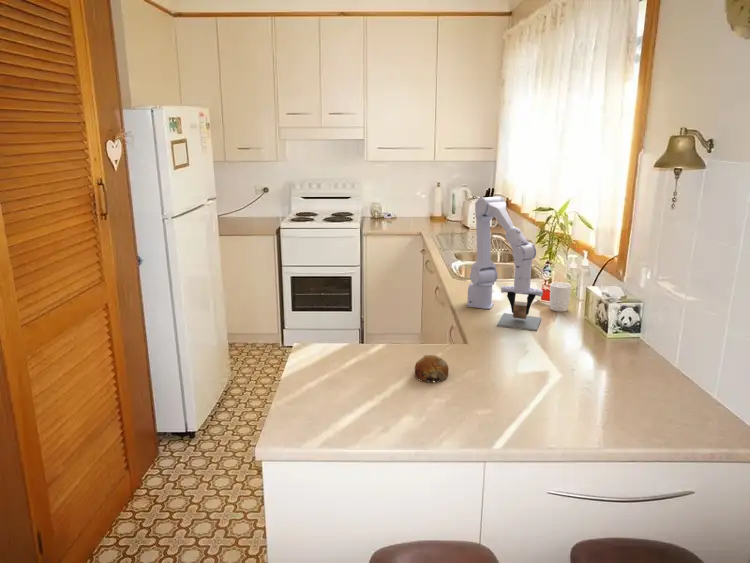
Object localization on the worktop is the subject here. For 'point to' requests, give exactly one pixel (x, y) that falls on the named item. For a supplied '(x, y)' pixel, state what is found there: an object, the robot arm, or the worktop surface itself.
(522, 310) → the walnut block
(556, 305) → the white cup
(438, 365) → the brown rounded dome
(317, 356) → the worktop surface
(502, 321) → the coaster mat
